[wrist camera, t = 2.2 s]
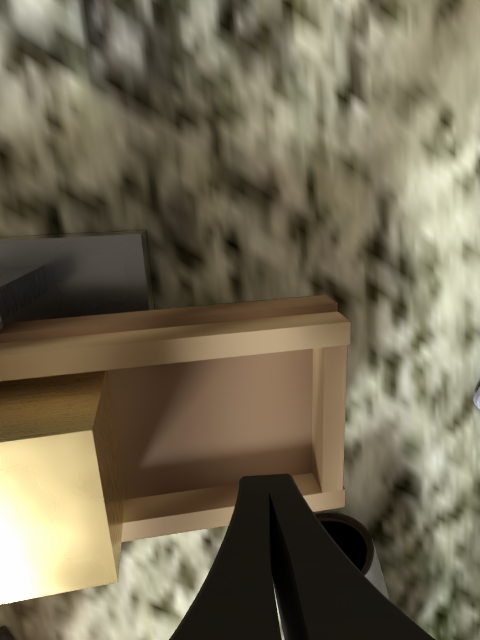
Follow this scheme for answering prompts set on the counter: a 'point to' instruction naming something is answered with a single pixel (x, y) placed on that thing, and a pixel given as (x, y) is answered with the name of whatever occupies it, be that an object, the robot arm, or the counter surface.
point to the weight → (58, 486)
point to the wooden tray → (206, 400)
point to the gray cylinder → (355, 546)
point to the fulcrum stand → (74, 275)
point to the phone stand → (4, 634)
